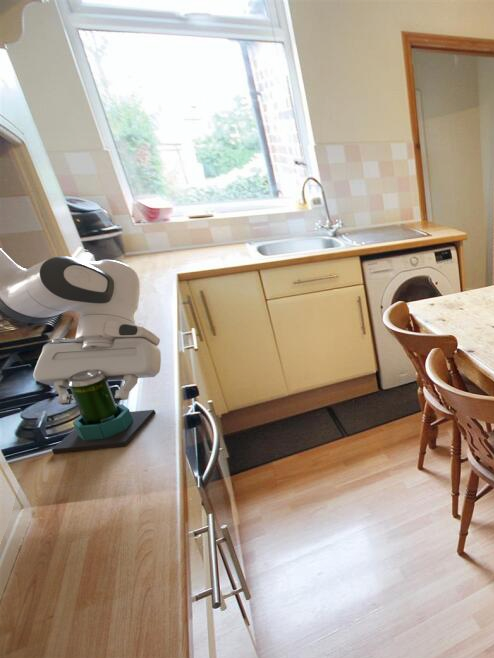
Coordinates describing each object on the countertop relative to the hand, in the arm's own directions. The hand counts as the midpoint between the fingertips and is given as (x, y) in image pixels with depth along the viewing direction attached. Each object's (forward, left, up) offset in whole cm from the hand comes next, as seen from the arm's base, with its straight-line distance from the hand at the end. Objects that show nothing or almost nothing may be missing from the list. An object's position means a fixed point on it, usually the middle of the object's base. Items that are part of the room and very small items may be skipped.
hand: (93, 401), depth 90 cm
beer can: (0, +1, -7) cm, 7 cm away
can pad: (0, +1, -8) cm, 8 cm away
